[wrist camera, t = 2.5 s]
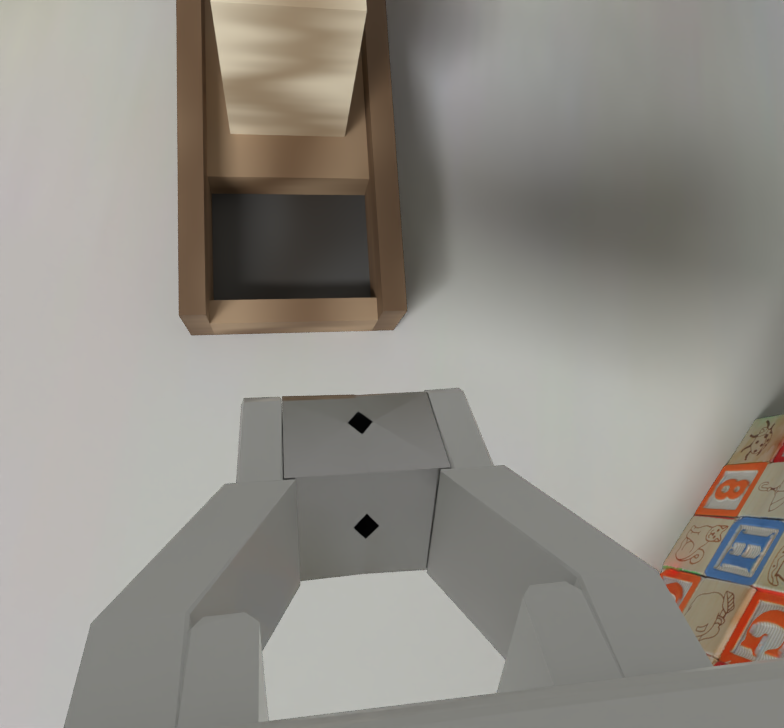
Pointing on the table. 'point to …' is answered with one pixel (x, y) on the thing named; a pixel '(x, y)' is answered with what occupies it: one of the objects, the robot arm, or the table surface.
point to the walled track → (286, 203)
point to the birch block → (288, 64)
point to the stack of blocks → (737, 554)
